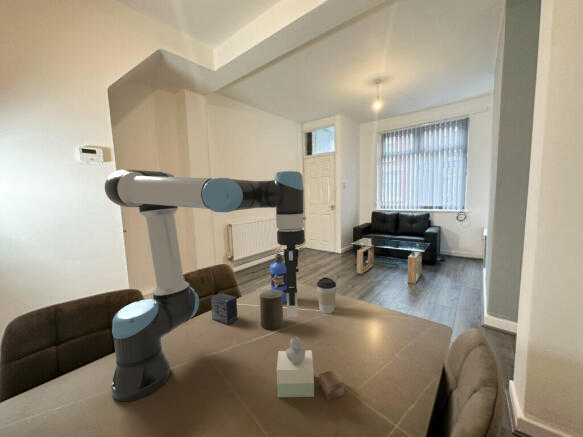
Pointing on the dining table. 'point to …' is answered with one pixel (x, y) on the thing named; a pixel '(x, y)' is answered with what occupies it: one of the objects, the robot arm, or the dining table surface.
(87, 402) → the dining table surface
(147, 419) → the dining table surface
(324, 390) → the brick
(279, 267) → the blue plastic bottle
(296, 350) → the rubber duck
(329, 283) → the coffee cup
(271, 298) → the pillar candle
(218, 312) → the small box
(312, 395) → the cream and green box
